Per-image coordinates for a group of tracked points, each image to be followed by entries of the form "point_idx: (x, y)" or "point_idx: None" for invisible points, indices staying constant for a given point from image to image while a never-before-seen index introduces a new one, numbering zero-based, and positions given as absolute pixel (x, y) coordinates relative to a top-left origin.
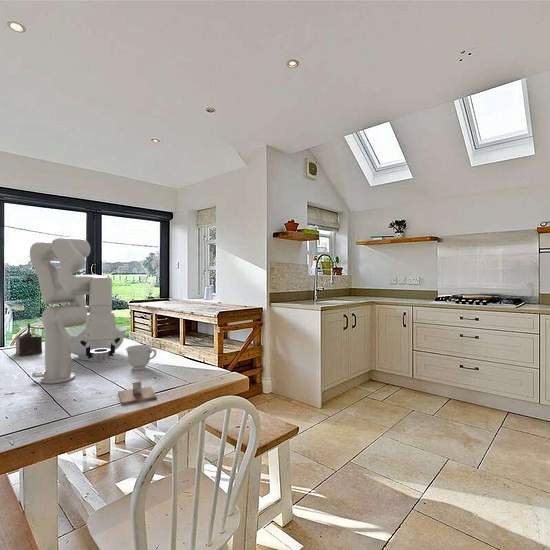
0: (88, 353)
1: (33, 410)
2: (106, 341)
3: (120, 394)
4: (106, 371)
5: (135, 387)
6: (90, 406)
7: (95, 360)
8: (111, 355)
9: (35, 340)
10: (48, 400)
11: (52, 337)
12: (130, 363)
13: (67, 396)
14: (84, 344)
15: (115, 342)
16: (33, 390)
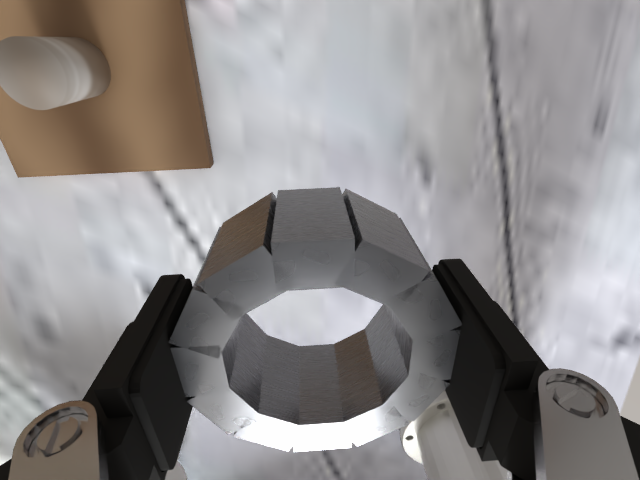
0: (484, 295)
1: (616, 98)
2: None
3: (190, 105)
4: (284, 452)
5: (54, 40)
6: (359, 15)
7: (373, 206)
8: (180, 279)
9: None
10: (530, 211)
11: None
12: (177, 472)
13: (450, 230)
14: (635, 447)
15: (23, 476)
16: (553, 345)
